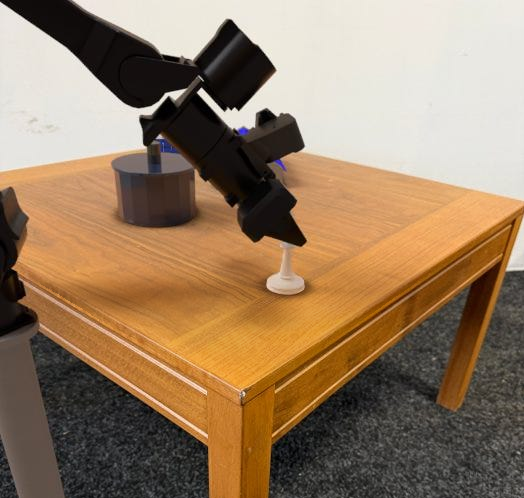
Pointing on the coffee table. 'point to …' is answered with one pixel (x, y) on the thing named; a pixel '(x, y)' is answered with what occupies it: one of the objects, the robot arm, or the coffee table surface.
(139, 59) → the robot arm
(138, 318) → the coffee table surface
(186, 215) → the pot
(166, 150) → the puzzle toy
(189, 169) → the pot lid
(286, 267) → the chess piece
